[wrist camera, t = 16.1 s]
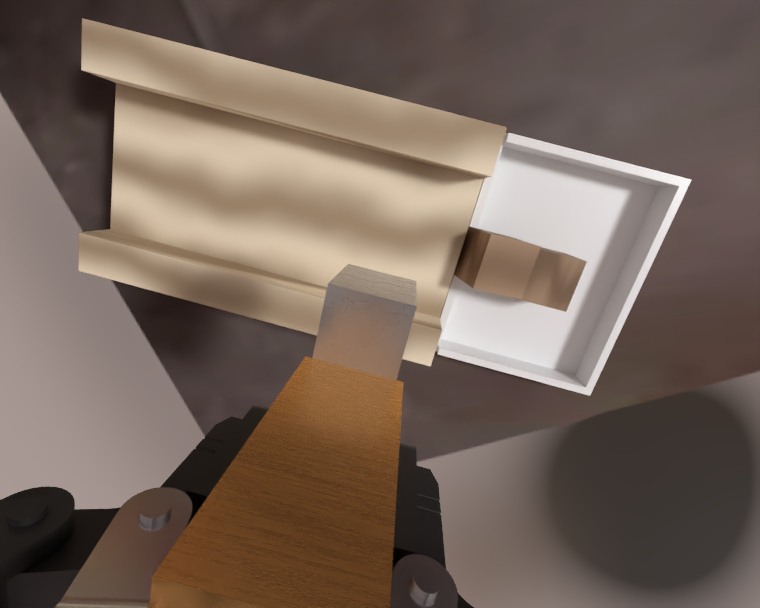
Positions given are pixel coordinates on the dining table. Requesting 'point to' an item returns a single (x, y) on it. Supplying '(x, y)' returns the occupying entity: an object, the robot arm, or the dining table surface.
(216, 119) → the channel board
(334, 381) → the scraper
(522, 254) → the brown wooden cube
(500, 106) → the dining table surface
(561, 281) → the brown cube
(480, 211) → the tray
